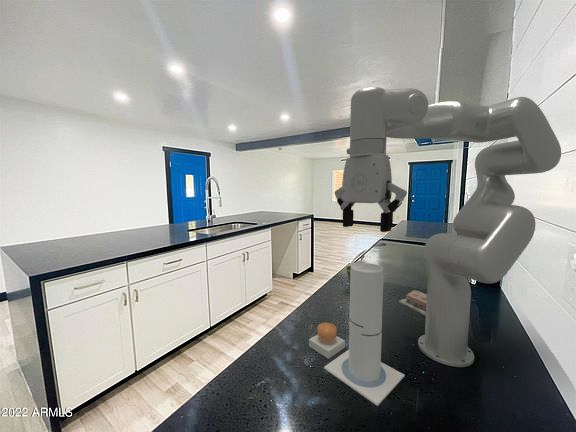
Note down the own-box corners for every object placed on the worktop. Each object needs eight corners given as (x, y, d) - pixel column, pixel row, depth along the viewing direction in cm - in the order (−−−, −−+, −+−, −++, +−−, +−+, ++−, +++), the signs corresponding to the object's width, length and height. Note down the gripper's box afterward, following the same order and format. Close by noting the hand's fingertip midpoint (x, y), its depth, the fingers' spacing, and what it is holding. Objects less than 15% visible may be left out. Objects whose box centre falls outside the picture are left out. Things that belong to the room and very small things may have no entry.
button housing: (325, 336, 73) (325, 329, 73) (345, 347, 68) (345, 340, 67) (308, 346, 68) (308, 339, 68) (328, 358, 63) (328, 351, 63)
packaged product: (464, 306, 82) (444, 312, 78) (463, 319, 82) (443, 326, 79) (417, 286, 98) (398, 291, 94) (416, 298, 99) (398, 303, 95)
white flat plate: (352, 347, 67) (352, 346, 67) (404, 376, 57) (404, 374, 57) (323, 368, 60) (323, 366, 60) (377, 406, 49) (377, 403, 49)
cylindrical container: (356, 356, 63) (358, 261, 61) (384, 368, 59) (388, 266, 56) (343, 372, 58) (345, 268, 55) (373, 387, 53) (376, 274, 51)
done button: (325, 327, 71) (325, 320, 71) (340, 334, 67) (340, 327, 67) (313, 334, 68) (313, 327, 68) (328, 342, 64) (328, 335, 64)
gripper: (326, 154, 58) (325, 226, 59) (397, 142, 44) (394, 236, 46) (346, 156, 62) (345, 223, 64) (416, 146, 49) (412, 231, 51)
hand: (365, 228), depth 55 cm, fingers open, 9 cm apart
